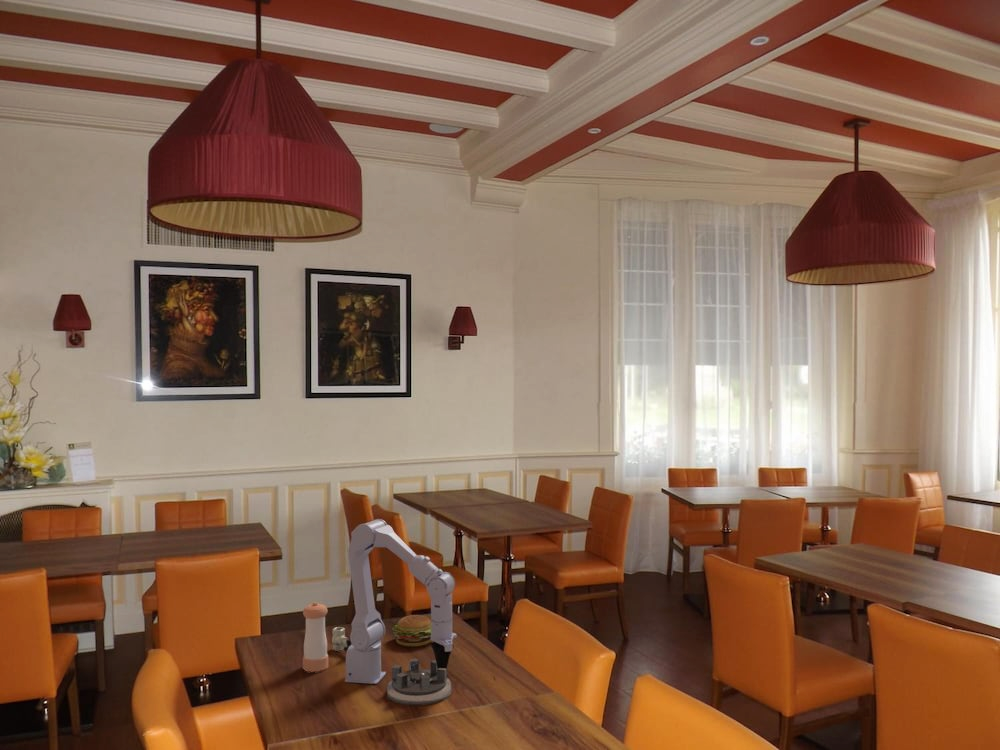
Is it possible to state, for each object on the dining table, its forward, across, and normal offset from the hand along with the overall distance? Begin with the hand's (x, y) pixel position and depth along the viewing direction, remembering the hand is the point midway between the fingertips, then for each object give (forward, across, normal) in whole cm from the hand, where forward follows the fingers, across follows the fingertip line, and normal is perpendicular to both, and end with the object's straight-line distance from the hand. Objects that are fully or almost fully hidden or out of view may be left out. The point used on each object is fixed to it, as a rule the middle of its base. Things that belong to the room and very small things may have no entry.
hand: (442, 669), depth 207 cm
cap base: (+5, 0, +6) cm, 8 cm away
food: (+5, +40, -2) cm, 41 cm away
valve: (+5, +38, +21) cm, 43 cm away
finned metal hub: (+3, 0, +6) cm, 7 cm away
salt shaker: (+5, +28, +31) cm, 42 cm away
